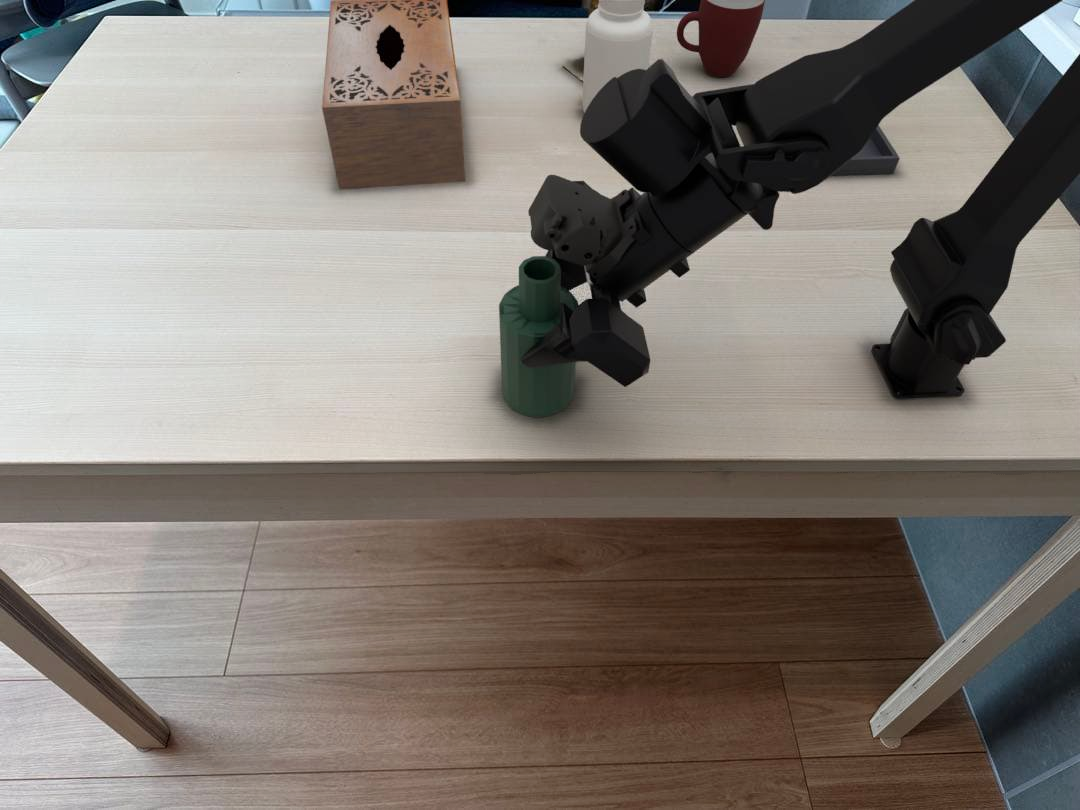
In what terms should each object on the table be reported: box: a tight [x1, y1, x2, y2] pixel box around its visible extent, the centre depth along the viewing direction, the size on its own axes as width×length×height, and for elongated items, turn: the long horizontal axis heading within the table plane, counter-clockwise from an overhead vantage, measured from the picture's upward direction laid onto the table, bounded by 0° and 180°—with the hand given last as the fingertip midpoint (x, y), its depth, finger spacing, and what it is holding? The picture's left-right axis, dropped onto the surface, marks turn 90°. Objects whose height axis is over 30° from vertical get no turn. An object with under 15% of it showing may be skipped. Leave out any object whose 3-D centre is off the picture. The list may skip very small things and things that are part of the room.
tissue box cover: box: [321, 0, 467, 190], centre depth 96 cm, size 26×14×10 cm, turn 8°
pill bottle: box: [581, 0, 654, 114], centre depth 97 cm, size 8×8×15 cm
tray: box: [831, 124, 901, 176], centre depth 99 cm, size 17×13×2 cm
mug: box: [676, 0, 766, 78], centre depth 106 cm, size 11×8×10 cm
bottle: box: [498, 255, 579, 418], centre depth 66 cm, size 6×6×14 cm
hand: (522, 334), depth 66 cm, fingers closed on bottle, 6 cm apart
